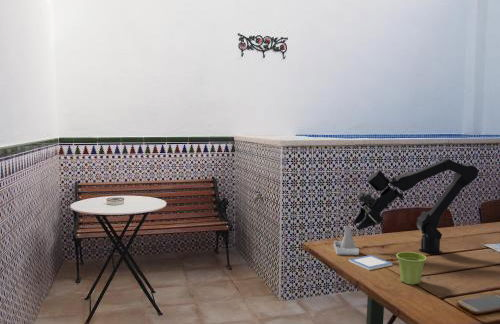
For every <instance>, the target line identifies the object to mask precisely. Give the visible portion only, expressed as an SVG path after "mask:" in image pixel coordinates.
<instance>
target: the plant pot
mask: <svg viewBox="0 0 500 324" xmlns="http://www.w3.org/2000/svg"><path fill="white" fill-rule="evenodd" d="M396 257H397V261H398V267H399V276H400V278H399V279H400V282H403V283H404V284H407V285H418V284H420V283H421V280H422V275H423V268H424V264H425V262H426V261H427V256H426V255H424V254H422V253H419V252H415V251H414V252H413V251H400V252H398V253H396Z"/></svg>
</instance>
